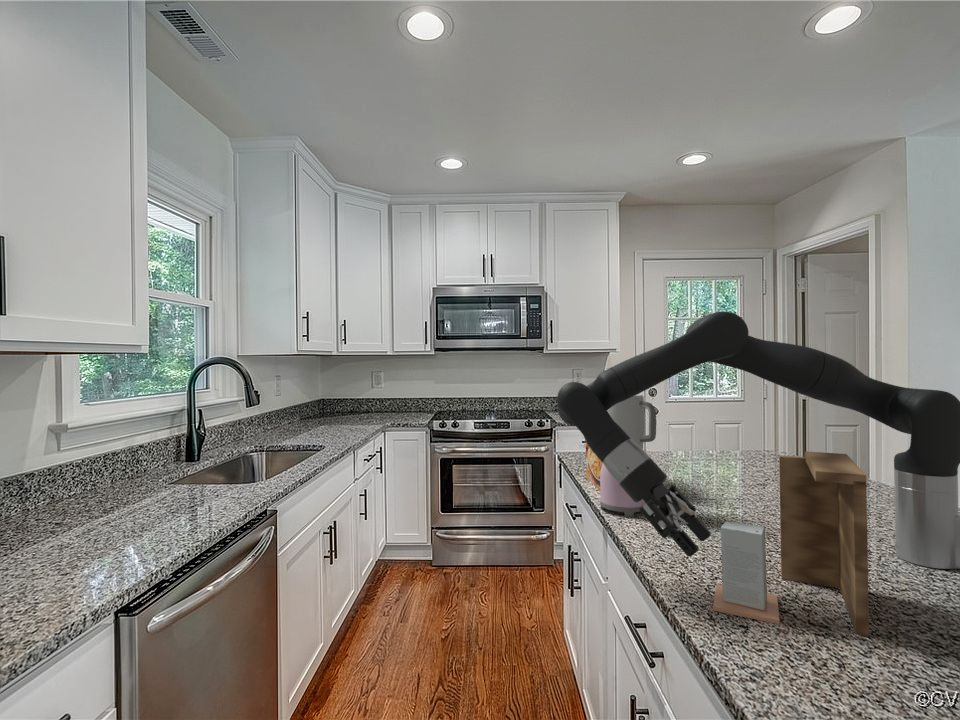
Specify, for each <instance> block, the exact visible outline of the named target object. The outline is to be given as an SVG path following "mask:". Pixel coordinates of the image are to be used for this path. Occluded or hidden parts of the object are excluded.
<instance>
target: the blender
mask: <svg viewBox="0 0 960 720" xmlns="http://www.w3.org/2000/svg"><path fill="white" fill-rule="evenodd" d="M644 398H645V397H644V395H643V394H641V393H639V394H637V395H635V396H633V397H631V398H629V399H627V400H624V401H622V402H619V403H617V404H615V405H614V406H612V407H611V408H610V409H608V410H607V412H608V413H609V415H610V416H611V418H612V419H613V420H614V421H615V422H616V423H617V424H618V425H619V426H620V427H621V428H622V429H623V430H624V432H625V433H626V434H627V435H628V436H629V437H630V438H631V439H632V440H633V441H634V442H635V443H636V444H637V445H639V446H640V447H641V448H642V449H643V450H644V444H645V443H649V442H650V443H651V442H654V441H655V439H656V436H657V412H656V411H657V410H656V407H655V406H654V405H653V404H652V403H650V402H649V401H645V399H644ZM645 410H647V411H648V435H647V434H646V412H645ZM599 492H600V499H599V500H600V501H599V502H600V503H599V505H600V509H601V510H604V509H606V510H608V511H613V512H619V513H624V517H626V518H633V517H634V513H638V512H641V511H640V508H641V507H642V506H643V505H644V504H645V502H644V500H643V499H642V500H641V501H640V502H634V501H633V500H632V499H631V497H630V496H629V495H628V494H627V493H626V492H625V490H624V489H623V488H622V487H621V486H620V485H619V483H618V482H617V481H616V480H615V479H614V478H613V476H612V475H611V474H610V473H609V471H608V470H607V468H606V467H605V465H604V464H603V465H602V467H601V471H600V491H599Z"/></svg>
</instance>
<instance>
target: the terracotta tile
mask: <svg viewBox="0 0 960 720" xmlns="http://www.w3.org/2000/svg"><path fill="white" fill-rule="evenodd" d="M714 592H715V593H714V598H713V605H712V611H713V612H719V613H722V614H723V613H724V614H728V615H732V616H733V615H734V616H738V617H742V618H748V619H753V620H758V621H761V622H762V621H763V622H767V623H770V624H771V623H772V624H776V625H780V612H779V603H778V602H779V601H778V595H777V594H772V593H769V592H767V602H766V606H765V610H759V609H755V608H751V607H747V606H742V605H738V604H734V603H730V602H725V601H723V586H722V584H719V583H717V584H716V587H715V591H714Z"/></svg>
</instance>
